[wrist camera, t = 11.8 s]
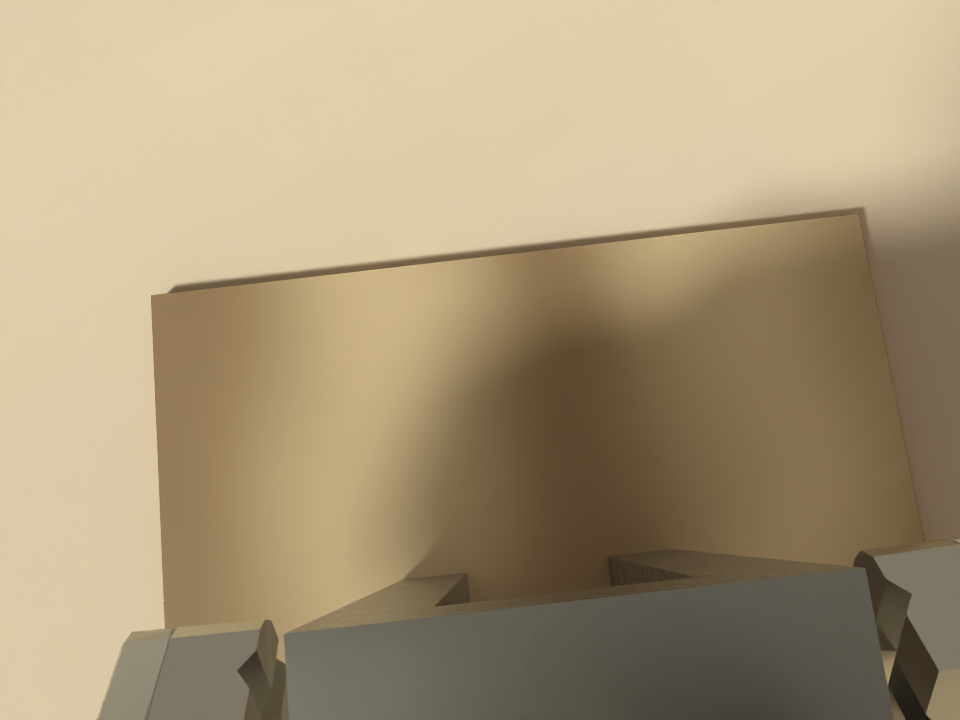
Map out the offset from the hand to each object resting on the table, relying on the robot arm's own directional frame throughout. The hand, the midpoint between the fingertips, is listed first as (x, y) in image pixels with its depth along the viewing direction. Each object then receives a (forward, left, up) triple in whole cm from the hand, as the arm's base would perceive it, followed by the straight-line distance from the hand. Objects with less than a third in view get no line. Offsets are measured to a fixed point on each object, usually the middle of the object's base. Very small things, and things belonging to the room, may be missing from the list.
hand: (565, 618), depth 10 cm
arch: (0, -1, -6) cm, 6 cm away
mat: (0, -1, -7) cm, 7 cm away
